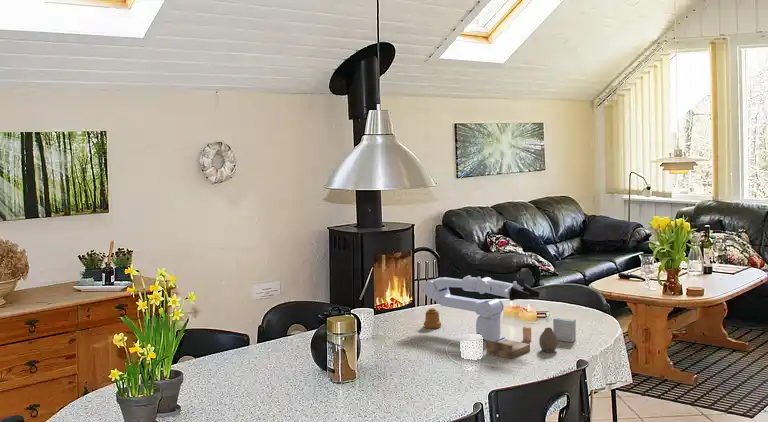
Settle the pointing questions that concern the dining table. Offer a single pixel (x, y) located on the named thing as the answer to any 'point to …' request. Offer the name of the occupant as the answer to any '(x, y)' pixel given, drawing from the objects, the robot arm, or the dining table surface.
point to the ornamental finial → (432, 319)
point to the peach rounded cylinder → (527, 334)
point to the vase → (548, 340)
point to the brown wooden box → (506, 348)
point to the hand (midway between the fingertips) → (534, 295)
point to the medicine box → (565, 329)
